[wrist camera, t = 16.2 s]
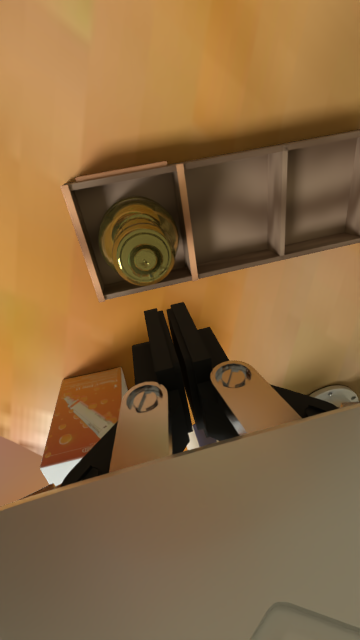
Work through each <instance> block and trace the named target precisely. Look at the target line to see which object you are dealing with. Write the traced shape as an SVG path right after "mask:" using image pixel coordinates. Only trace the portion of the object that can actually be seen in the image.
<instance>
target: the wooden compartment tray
mask: <svg viewBox="0 0 360 640" xmlns="http://www.w3.org/2000/svg"><path fill="white" fill-rule="evenodd" d="M75 179H76V182H71V183H66V184H64V185H62V186H60V187H61V190H62V193H63V196H64V199H65V202H66V205H67V208H68V211H69V214H70V217H71V220H72V223H73V226H74V229H75V232H76V235H77V238H78V241H79V243H80V246H81V249H82V252H83V255H84V258H85V261H86V264H87V267H88V270H89V273H90V276H91V279H92V282H93V285H94V288H95V291H96V294H97V297H98V300H99V302H103V301H105V300H107V299H111V298H116V297H120V296H125V295H129V294H133V293H138V292H142V291H147V290H151V289H156V288H160V287H165V286H169V285H173V284H178V283H182V282H187V281H191V280H192V281H196V280H198V279H200V278H204V277H209V276H213V275H218V274H222V273H227V272H231V271H236V270H240V269H244V268H249V267H253V266H258V265H262V264H267V263H271V262H275V261H280V260H284V259H289V258H293V257H298V256H302V255H307V254H311V253H315V252H320V251H324V250H329V249H333V248H338V247H342V246H346V245H351V244H355V243H360V130H354V131H349V132H343V133H338V134H332V135H327V136H322V137H316V138H311V139H305V140H300V141H294V142H289V143H283V144H278V145H273V146H267V147H262V148H256V149H251V150H245V151H240V152H234V153H229V154H224V155H218V156H213V157H207V158H202V159H196V160H191V161H185V162H180V163H175V164H169V165H167V161H161V162H155V163H150V164H145V165H139V166H134V167H128V168H123V169H117V170H112V171H106V172H101V173H95V174H90V175H84V176H79V177H76V178H75ZM132 195H138V196H144V197H147V198H150V199H152V200H154V201H156V202H157V203H159V204H160V205H161V206H162V207H164V208H165V209H166V210H167V211H168V212H169V213H170V215H171V216H172V218H173V219H174V221H175V223H176V226H177V229H178V233H179V246H178V251H177V254H176V256H175V262H174V266H173V268H172V270H171V271H170V273H169V274H168V275H167V276H166V277H165V278H164V279H163V280H161V281H160V282H158V283H156V284H153V285H147V286H140V285H135V284H132V283H130V282H128V281H126V280H125V279H124V278H122V277H121V276H120V275H119V274H118V273H117V272H115V271H114V270H113V269H112V268H111V267H110V266H109V265H108V264H107V263H106V261H105V260H104V258H103V256H102V254H101V251H100V248H99V242H98V234H99V229H100V224H101V221H102V218H103V216H104V214H105V213H106V211H107V209H108V208H109V207H110V206H111V205H112V204H113V203H114V202H116V201H117V200H119V199H121V198H123V197H127V196H132Z"/></svg>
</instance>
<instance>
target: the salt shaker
mask: <svg viewBox="0 0 360 640" xmlns="http://www.w3.org/2000/svg"><path fill="white" fill-rule="evenodd" d="M98 242H99V248H100V251H101V254H102V256H103V258H104V260H105V261H106V263H107V264H108V265H109V266H110V267H111V268H112V269H113V270H114V271H115V272H117V273H118V274H119V275H120V276H121V277H122V278H124V279H125V280H126V281H128V282H130V283H132V284H135V285H140V286H147V285H153V284H156V283H158V282H160V281H161V280H163V279H164V278H165V277H166V276H167V275H168V274H169V273H170V271H171V270H172V268H173V266H174V262H175V256H176V254H177V251H178V246H179V233H178V229H177V226H176V223H175V221H174V219H173V218H172V216H171V215H170V213H169V212H168V211H167V210H166V209H165V208H164V207H162V206H161V205H160V204H159V203H157V202H156V201H154V200H152V199H150V198H147V197H144V196H138V195H132V196H127V197H123V198H121V199H119V200H117V201H116V202H114V203H113V204H112V205H111V206H110V207H109V208H108V209H107V211H106V213H105V214H104V216H103V218H102V221H101V224H100V229H99V234H98Z"/></svg>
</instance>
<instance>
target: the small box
mask: <svg viewBox="0 0 360 640" xmlns="http://www.w3.org/2000/svg"><path fill="white" fill-rule="evenodd" d="M127 391H128V389H127V385H126V382H125V378H124V374H123V371H122V368H121V367H118V368H114V369H110V370H106V371H102V372H97V373H93V374H88V375H83V376H79V377H74V378H69V379H64V380H62V383H61V388H60V391H59V395H58V399H57V403H56V407H55V411H54V415H53V419H52V423H51V427H50V430H49V434H48V438H47V442H46V446H45V450H44V454H43V458H42V462H41V466H40V469H41V471H42V473H43V474H44V476H45V477H46V479H47V481H48V483H49V484H52V483H54V485H55V486H57V485H59V484H61V483H62V482H63V480H64V478H65V477H66V476H67V474H68V473H69V472H70V471H71V470H72V469H73V467H74V466H75V465H76V464H77V463H78V462H79V461H80V460H81V459H82V458H83V457H84V456H85V455H86V454H87V453H88V452H89V451H90V450H91V449H92V447H93V446H94V445H95V444H96V443H97V442H98V441H99V440H100V439H101V438H102V437H103V436H104V435H105V434H106V433H107V432H108V431H109V430H110V429H111V427H112V426H113V425H114V424H115V423H116V422H117V421H118V418H119V413H120V407H121V401H122V399H123V396H124V395H125V393H126V392H127Z"/></svg>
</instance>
